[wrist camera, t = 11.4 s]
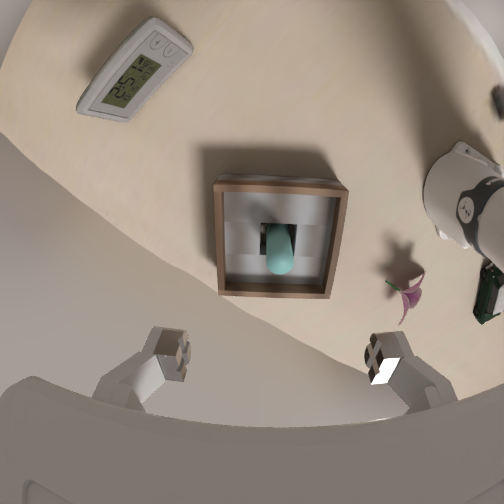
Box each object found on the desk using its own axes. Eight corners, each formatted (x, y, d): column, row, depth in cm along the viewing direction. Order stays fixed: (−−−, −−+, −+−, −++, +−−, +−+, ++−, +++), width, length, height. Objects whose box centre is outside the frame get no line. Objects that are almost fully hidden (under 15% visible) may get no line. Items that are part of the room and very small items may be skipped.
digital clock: (124, 127, 37) (87, 135, 28) (99, 88, 33) (59, 88, 24) (208, 65, 32) (189, 51, 23) (178, 25, 29) (152, 3, 20)
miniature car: (471, 316, 53) (484, 336, 46) (481, 261, 45) (499, 281, 38) (493, 305, 52) (507, 323, 45) (504, 250, 44) (523, 268, 37)
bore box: (338, 179, 40) (348, 191, 35) (323, 278, 49) (329, 298, 43) (220, 174, 41) (213, 184, 35) (223, 274, 49) (218, 295, 44)
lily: (381, 312, 54) (412, 337, 46) (360, 299, 46) (398, 329, 39) (411, 265, 52) (445, 287, 45) (396, 244, 45) (438, 268, 37)
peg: (289, 221, 44) (295, 251, 35) (287, 241, 45) (292, 274, 37) (266, 220, 44) (267, 250, 35) (266, 240, 46) (265, 273, 37)
